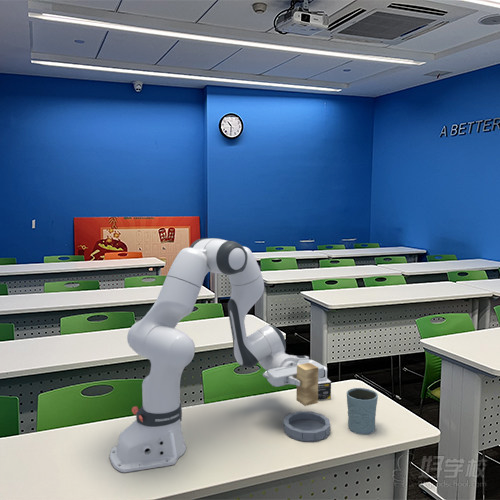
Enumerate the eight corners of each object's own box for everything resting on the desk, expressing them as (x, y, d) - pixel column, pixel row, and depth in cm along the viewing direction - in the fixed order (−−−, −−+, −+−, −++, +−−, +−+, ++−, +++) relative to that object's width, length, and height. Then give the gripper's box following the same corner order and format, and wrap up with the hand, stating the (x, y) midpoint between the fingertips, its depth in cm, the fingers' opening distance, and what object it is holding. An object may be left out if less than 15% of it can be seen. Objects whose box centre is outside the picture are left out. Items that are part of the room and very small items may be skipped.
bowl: (300, 446, 152) (300, 437, 151) (275, 425, 165) (275, 417, 165) (339, 435, 159) (339, 426, 158) (312, 416, 172) (312, 408, 171)
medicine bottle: (313, 401, 184) (314, 370, 182) (306, 394, 191) (306, 364, 189) (331, 399, 186) (331, 368, 184) (323, 392, 192) (323, 362, 191)
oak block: (304, 406, 157) (305, 370, 156) (296, 400, 162) (296, 365, 160) (317, 403, 160) (318, 367, 158) (309, 397, 164) (309, 362, 162)
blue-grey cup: (354, 437, 157) (355, 401, 156) (340, 422, 167) (341, 389, 166) (382, 433, 160) (383, 397, 158) (367, 419, 170) (368, 386, 168)
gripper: (260, 364, 166) (281, 378, 154) (310, 355, 175) (334, 367, 163) (260, 382, 167) (281, 397, 155) (310, 371, 176) (333, 385, 164)
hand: (308, 381), depth 159 cm, fingers closed on oak block, 5 cm apart
